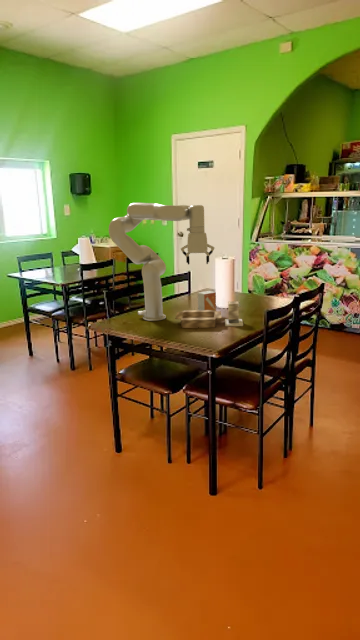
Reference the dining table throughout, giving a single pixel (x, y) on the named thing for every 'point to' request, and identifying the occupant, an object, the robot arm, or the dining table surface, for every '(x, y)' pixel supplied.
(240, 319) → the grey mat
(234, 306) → the block
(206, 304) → the small box
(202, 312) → the brown wooden tray
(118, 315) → the dining table surface
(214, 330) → the dining table surface
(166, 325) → the dining table surface
